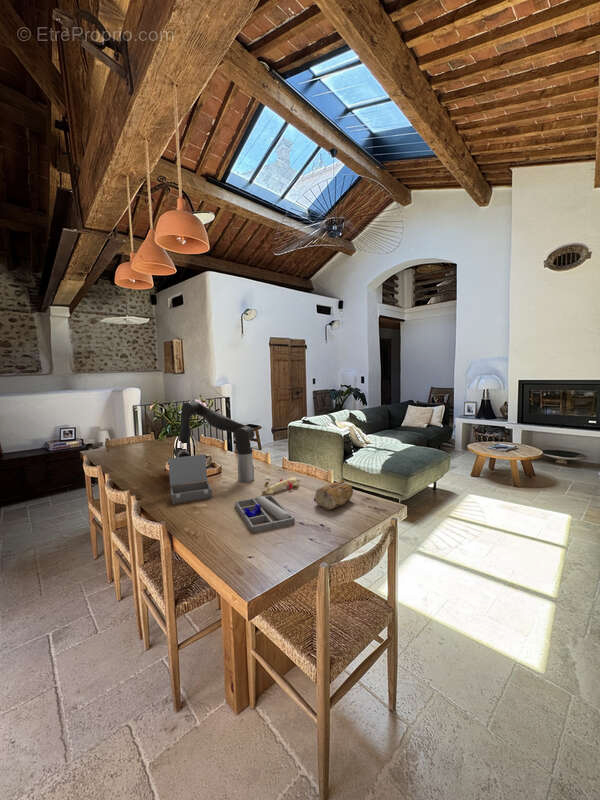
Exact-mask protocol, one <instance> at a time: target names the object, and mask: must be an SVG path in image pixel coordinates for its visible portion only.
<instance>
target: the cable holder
mask: <svg viewBox="0 0 600 800" xmlns="http://www.w3.org/2000/svg"><path fill="white" fill-rule="evenodd" d="M261 508H262V507H261V505H259V504H257V505H255V509H254V510H253V511H249V509H247V508H246V509H244V513H245V514H246V516H247V517H248V518H251V517H256V516H259V514H260V513H261ZM260 515H261V514H260Z"/></svg>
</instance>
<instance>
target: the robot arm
mask: <svg viewBox="0 0 600 800" xmlns="http://www.w3.org/2000/svg"><path fill="white" fill-rule="evenodd" d="M189 402H190V403H189ZM192 416H199V417H202V419H203V418H204V420H205V421H206V422H207V424H208V425H209V426H211V427H214V429H217V430H219V431H224V432H230V433H233V434H234V442H235V450H236V451H237V452H236V454H237V480H238V482H239V483H251V482H252V480H253V481H255V466H254V463H253V461H254V460H253V455H254V454H253V447H251V446H250V441H251V440H253V439H254V438H255V434H256V433H255V431H254V428H252V427H251V426H248V425H246V424H243V423H241V422H238V421H236V420H234V419H231V418H230V417H227V416H225V415H224V414H221V413H220V412H217V411H216V410H213V409H210V408H208V407H207V406H205V405H204V404H202V403H200V402H199V401H196V400H189V401H187V402H184V403H182V406H181V414H180V431H179V436H178V440H179V441H181V442H182V443H189V444H190V441H191V435H192V428H191V426H190V421H191V418H192ZM172 452H173V455H174V457H175V458H177V457H185V456H191V455H190V454H191V453H190V454H189V452H188V451H187V450H186V449H182V448H177V449H176V450H175V446H174V447H173V450H172Z"/></svg>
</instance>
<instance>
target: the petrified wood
mask: <svg viewBox="0 0 600 800" xmlns="http://www.w3.org/2000/svg"><path fill="white" fill-rule="evenodd" d="M353 494H354V489H353V487H352V485H350V484H349V483H346V482H345V481H344V480H339V481H336V482H332V483H331V484H328V485H324V486H323V487H319V488H318V489H317V490H316V492H315V495H314V499H313V502H315V503H316V504H317V505H318V506H319V507H322V508H323V509H324V510H326V511H328V510H329V511H331V509H332V510H334V509H333V508H335V507H337V508H339V507H341V506H344V505H345V504H347V503H346V501H347V502H348V501H349V500H351V498H352V497H353ZM343 504H344V505H343ZM340 505H341V506H340ZM338 506H339V507H338ZM335 509H336V508H335Z"/></svg>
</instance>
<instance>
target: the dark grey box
mask: <svg viewBox="0 0 600 800" xmlns="http://www.w3.org/2000/svg"><path fill="white" fill-rule="evenodd" d="M169 487H170V489H169V490H170V500H171V505H175V504H174V503H177V504H181V503H180V502H184V503H187V502H186V501H190V502H193V501H192V500H196V501H199V500H198V499H202V500H206V499H205V498H208V499H212V498H213V495H212V493H213V492H212V486H211V484H210V483H209V481H208V480H207V481H200V482H193V483H187V484H180V485H173V486H169Z"/></svg>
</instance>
